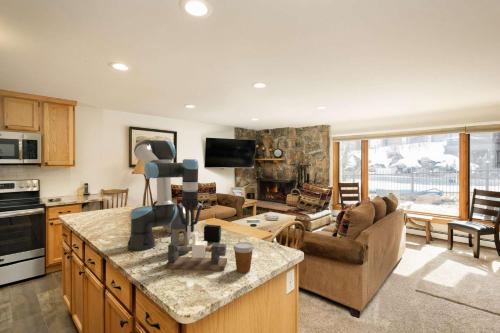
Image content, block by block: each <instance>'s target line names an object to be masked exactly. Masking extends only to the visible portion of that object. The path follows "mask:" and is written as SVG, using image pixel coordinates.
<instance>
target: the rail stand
mask: <svg viewBox="0 0 500 333" xmlns="http://www.w3.org/2000/svg"><path fill="white" fill-rule="evenodd" d="M178 251H189V252H192V246H189V247H181V246H178V241H172V242H171V241H170V243H169V244H168V245H167V262H166V263H165V269H166V270H167V269H168V270H192V271H193V270H194V271H221V272H222V271H223V272H224V271H225V269H226V266H227V264H228V258H227V257H225V256H226V254H227V243H220V242H218V243H215V242H214V243H213V242H212V244H211V246H207V247H205V251H206V252H207V253H210V255H211V256H210V257H205V258H195V257H192V256H179V255H178Z"/></svg>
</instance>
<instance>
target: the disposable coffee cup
mask: <svg viewBox="0 0 500 333" xmlns="http://www.w3.org/2000/svg"><path fill="white" fill-rule="evenodd" d="M233 251H234V257H235V267H236V272H237V273H239V274H247V272H248V273H249V272H251V266H252V259H253V251H254V245H253V244H252V243H251V242H247V241H241V242H240V241H239V242H237V243H234V246H233Z"/></svg>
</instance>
